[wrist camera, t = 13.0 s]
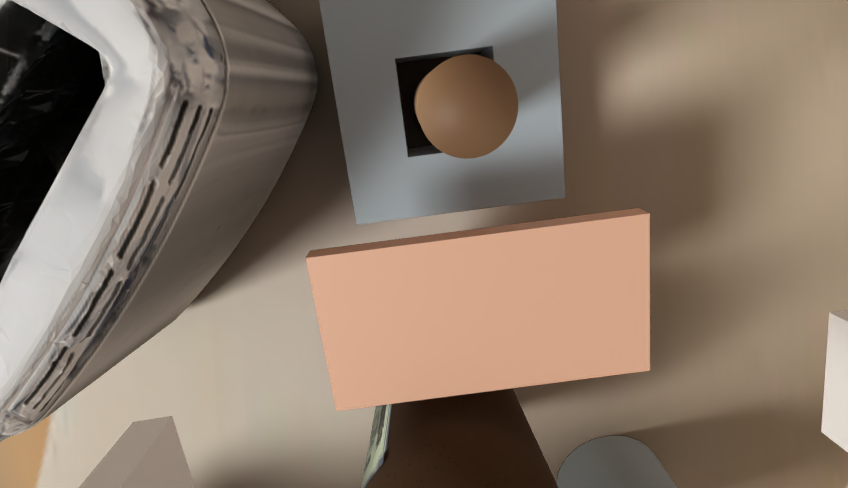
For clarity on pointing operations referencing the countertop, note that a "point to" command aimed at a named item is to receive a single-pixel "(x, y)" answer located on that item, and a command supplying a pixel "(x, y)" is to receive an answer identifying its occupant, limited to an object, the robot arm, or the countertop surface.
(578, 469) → the spray bottle
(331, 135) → the countertop surface
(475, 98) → the peg
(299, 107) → the toaster
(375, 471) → the olive oil
